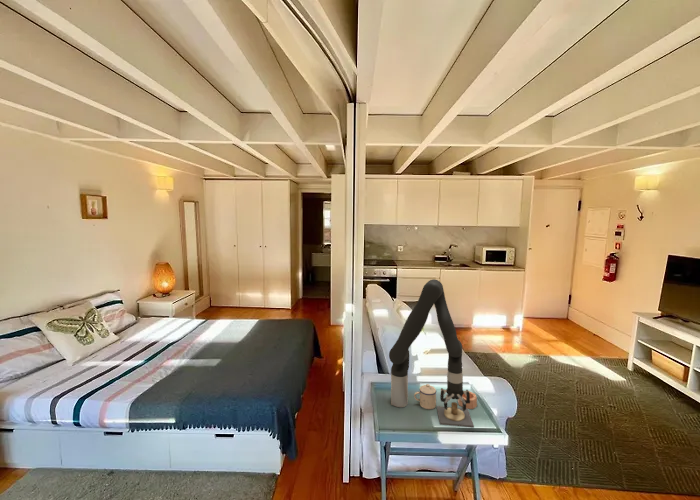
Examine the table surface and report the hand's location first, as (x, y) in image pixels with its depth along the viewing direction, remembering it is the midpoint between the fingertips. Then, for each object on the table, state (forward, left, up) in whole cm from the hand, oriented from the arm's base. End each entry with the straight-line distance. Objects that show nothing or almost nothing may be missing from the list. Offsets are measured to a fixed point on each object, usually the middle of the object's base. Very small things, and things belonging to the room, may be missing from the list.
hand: (454, 409), depth 158 cm
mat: (0, 0, -4) cm, 4 cm away
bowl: (+9, +13, -4) cm, 16 cm away
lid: (0, 0, -3) cm, 3 cm away
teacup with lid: (-14, +9, -5) cm, 18 cm away
